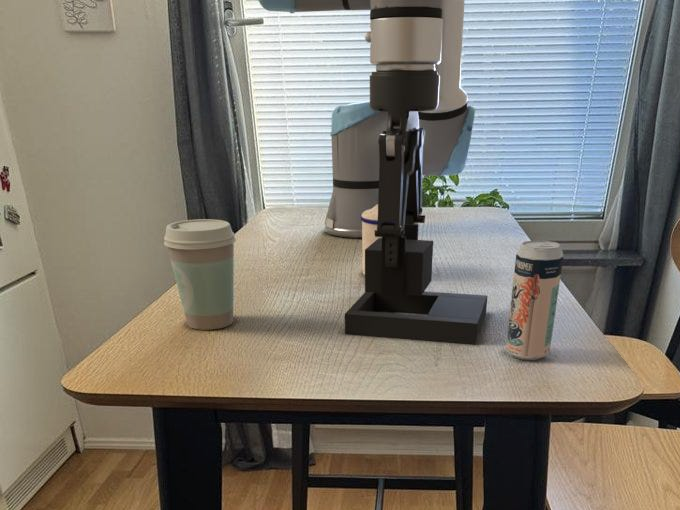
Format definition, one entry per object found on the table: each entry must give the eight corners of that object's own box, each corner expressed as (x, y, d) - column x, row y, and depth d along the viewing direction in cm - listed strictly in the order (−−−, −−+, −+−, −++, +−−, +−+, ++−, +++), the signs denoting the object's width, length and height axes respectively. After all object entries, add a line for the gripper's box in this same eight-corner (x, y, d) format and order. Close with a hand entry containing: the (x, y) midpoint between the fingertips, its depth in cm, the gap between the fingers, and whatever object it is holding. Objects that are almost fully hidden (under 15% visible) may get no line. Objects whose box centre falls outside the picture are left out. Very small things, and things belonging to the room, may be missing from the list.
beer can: (500, 348, 77) (512, 240, 71) (540, 346, 78) (555, 238, 71) (512, 363, 73) (525, 250, 67) (554, 361, 74) (571, 248, 67)
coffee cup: (186, 312, 90) (172, 218, 84) (249, 312, 90) (240, 218, 83) (168, 333, 82) (152, 232, 76) (237, 334, 82) (226, 232, 76)
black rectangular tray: (368, 305, 92) (368, 287, 91) (485, 314, 88) (487, 295, 87) (344, 333, 82) (344, 313, 81) (475, 344, 78) (477, 323, 77)
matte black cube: (378, 277, 87) (378, 237, 84) (431, 281, 85) (433, 240, 83) (364, 292, 81) (364, 249, 79) (421, 296, 80) (423, 252, 77)
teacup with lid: (410, 283, 102) (413, 201, 96) (353, 279, 104) (352, 198, 98) (427, 264, 112) (430, 189, 106) (374, 261, 114) (374, 187, 108)
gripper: (390, 70, 80) (387, 264, 92) (345, 68, 64) (349, 305, 76) (452, 69, 79) (441, 267, 91) (422, 67, 62) (414, 310, 74)
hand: (399, 284), depth 83 cm, fingers closed on matte black cube, 7 cm apart
